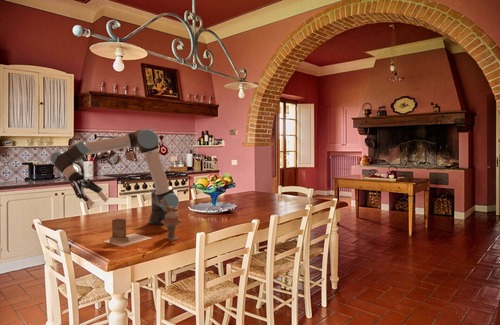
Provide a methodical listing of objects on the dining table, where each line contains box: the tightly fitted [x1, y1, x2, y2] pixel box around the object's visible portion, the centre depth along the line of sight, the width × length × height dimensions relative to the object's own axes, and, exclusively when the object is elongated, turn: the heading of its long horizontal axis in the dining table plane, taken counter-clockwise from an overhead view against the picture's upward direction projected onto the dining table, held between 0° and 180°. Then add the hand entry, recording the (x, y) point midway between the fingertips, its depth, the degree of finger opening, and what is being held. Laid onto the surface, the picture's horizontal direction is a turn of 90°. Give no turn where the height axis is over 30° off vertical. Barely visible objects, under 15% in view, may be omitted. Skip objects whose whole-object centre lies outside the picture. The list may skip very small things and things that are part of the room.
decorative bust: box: [160, 198, 183, 242], centre depth 195 cm, size 11×13×25 cm
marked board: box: [103, 233, 152, 247], centre depth 190 cm, size 20×16×1 cm
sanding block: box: [108, 218, 129, 243], centre depth 186 cm, size 4×9×12 cm, turn 81°
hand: (99, 202), depth 190 cm, fingers open, 13 cm apart
